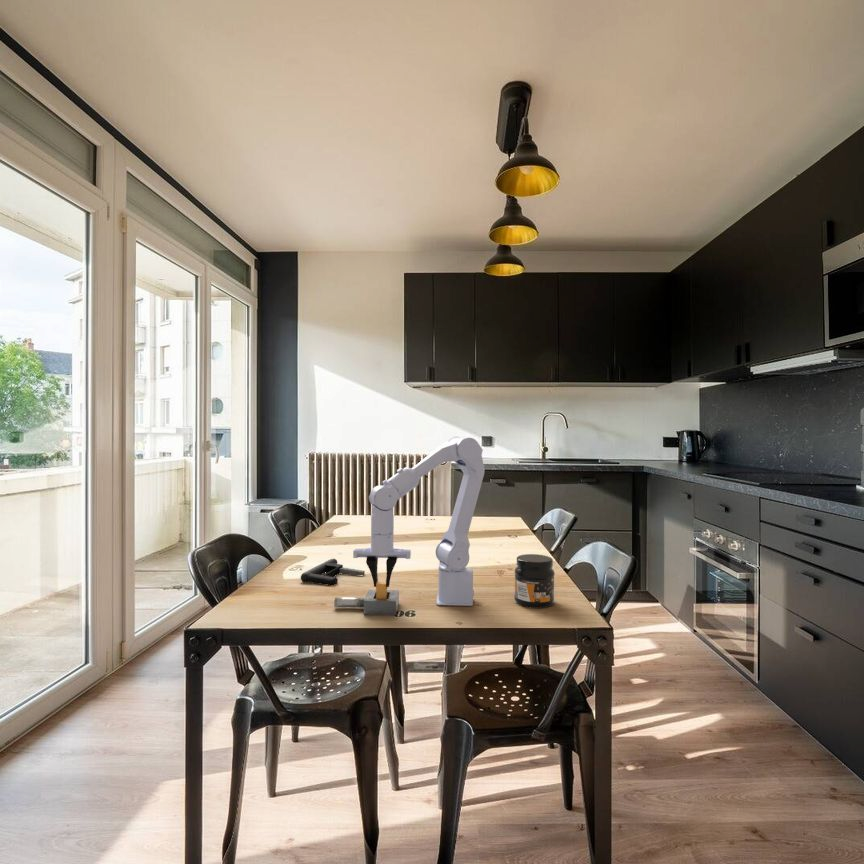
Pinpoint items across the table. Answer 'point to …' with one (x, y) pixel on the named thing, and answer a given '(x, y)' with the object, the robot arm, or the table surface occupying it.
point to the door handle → (328, 573)
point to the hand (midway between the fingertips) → (381, 585)
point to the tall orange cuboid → (381, 589)
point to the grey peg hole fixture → (372, 603)
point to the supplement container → (534, 581)
